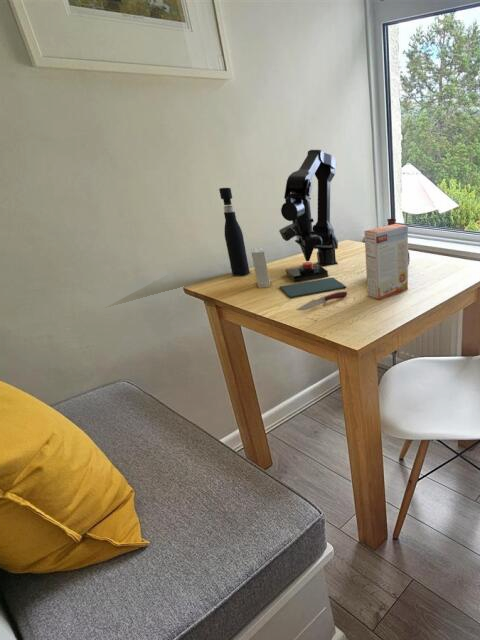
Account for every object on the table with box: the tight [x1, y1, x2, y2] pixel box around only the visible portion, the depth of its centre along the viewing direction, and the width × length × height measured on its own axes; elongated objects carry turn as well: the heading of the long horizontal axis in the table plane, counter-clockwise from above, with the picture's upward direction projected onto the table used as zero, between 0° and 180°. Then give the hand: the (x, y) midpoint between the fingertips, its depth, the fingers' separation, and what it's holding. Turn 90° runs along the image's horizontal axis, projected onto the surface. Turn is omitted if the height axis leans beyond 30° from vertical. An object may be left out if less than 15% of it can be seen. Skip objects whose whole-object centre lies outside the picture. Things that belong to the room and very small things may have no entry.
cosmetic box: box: [250, 247, 271, 289], centre depth 148 cm, size 6×4×12 cm
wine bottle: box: [218, 187, 250, 277], centre depth 155 cm, size 6×6×30 cm
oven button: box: [302, 261, 314, 269], centre depth 155 cm, size 4×4×2 cm
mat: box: [279, 277, 347, 299], centre depth 147 cm, size 20×12×1 cm, turn 118°
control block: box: [285, 264, 329, 283], centre depth 158 cm, size 13×11×4 cm
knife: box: [295, 290, 348, 312], centre depth 132 cm, size 20×1×3 cm, turn 138°
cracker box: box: [364, 223, 409, 300], centre depth 136 cm, size 14×6×21 cm, turn 135°
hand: (307, 261), depth 154 cm, fingers closed
